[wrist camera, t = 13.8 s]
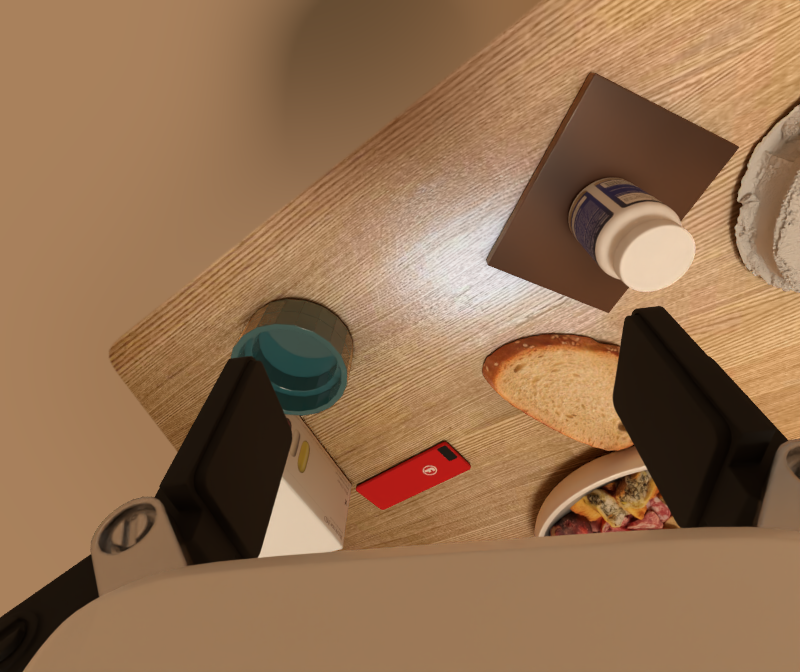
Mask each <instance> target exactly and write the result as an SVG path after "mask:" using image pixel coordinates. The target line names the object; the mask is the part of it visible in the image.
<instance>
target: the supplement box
mask: <svg viewBox="0 0 800 672" xmlns="http://www.w3.org/2000/svg"><path fill="white" fill-rule="evenodd" d="M285 416H286V418H287V421H288V423H289V425H290V428H291V430H292V443H291V447H290V451H289V454H288V458H287V461H286V465H285V468H284V472H283V475H282V479H281V482H280V486H279V489H278V493H277V496H276V500H275V503H274V507H273V510H272V514H271V517H270V521H269V524H268V528H267V532H266V535H265V539H264V542H263V546H262V549H261V552H260V555H259V557H258V558H262V557H273V556H284V555H297V554H310V553H323V552H331V551H335V550H339V549H342V548H343V540H344V533H345V526H346V520H347V512H348V505H349V499H350V492H351V486H352V485H351V484H350V482H349V481H348V480H347V478H346V477H345V476H344V474H343V473H342V472H341V470H340V469H339V468H338V466H337V465H336V464H335V463H334V461H333V460H332V459H331V457H330V456H329V455H328V453H327V452H326V451H325V449H324V448H323V447H322V445H321V444H320V443H319V441H318V440H317V439H316V437H315V436H314V435H313V433H312V432H311V431H310V429H309V428H308V427H307V426H306V424H305V423H304V422H303V420H302V419H301V418H300V416H299V415H286V414H285Z"/></svg>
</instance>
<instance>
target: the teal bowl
mask: <svg viewBox="0 0 800 672" xmlns="http://www.w3.org/2000/svg"><path fill="white" fill-rule="evenodd" d="M246 356H252V357H254V358H255V360H256V361H258V360H259V361H261V362H262V364H263V366H264V368H265V370H266V372H267V375H268V377H269V379H270V382H271V384H272V386H273V388H274V391H275V393H276V395H277V398H278V400H279V402H280V405H281V407H282V409H283V411H284V414H286V415H300V416H303V415H309V414H315V413H319V412H321V411H323V410H325V409H327V408H330V407H331V406H333V405H334V404H335V403H336V402H337V401H338V400H339V399H340V398H341V397H342V395H343V393H344V391H345V388H346V386H347V383H348V378H349V373H350V368H351V363H352V358H353V342H352V339H351V337H350V334H349V332H348V329H347V328H346V327H345V325H344V324H343V323H342V322H341V320H340V319H339V318H338V317H337V316H336V315H334V314H333V313H331V312H330V311H329V310H327V309H326V308H324V307H322V306H320V305H317V304H314V303H311V302H308V301H305V300H292V299H285V300H280V301H276V302H271V303H269V304H268V305H266V306H264V307H263V308H261V309H259V310H258V311H257V312H256V313H255V314H254V315H253V317H252V318H251V319H250V321H249V322H248V324H247V326H246V327H245V329H244V331H243V332H242V334H241V335H240V337H239V339H238V341H237V342H236V344H235V346H234V347H233V351H232V355H231V358H238V357H246Z"/></svg>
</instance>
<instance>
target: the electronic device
mask: <svg viewBox="0 0 800 672" xmlns="http://www.w3.org/2000/svg"><path fill="white" fill-rule="evenodd" d="M470 468H471V466H470V464H469V463H468V462H467V461H466V460H465V459H464V458H463V457H462V456H461V455H460V454H459V453H458V452H456V451H455V450H454V449H453V448H452V447H451V446H450V445H449V444H448V443H447V442H442V443H440V444H438V445H436V446H434V447H432V448H430V449H428V450H426V451H424V452H422V453H420V454H419V455H417V456H415V457H413V458H411V459H409V460H407V461H405V462H403V463H401V464H399V465H397V466H395V467H393V468H391V469H389V470H387V471H385V472H383V473H381V474H379V475H377V476H376V477H374V478H372V479H370V480H368V481H366V482H364V483H362V484H360V485H358V486H357V487H356V491H357V492H359V493H360V494H361V495H363V496H364V497H365V498H367V499H368V500H369V501H370V502H372V503H373V504H374V505H376V506H377V507H378V508H380V509H381V510H384V509H387V508H389V507H391V506H393V505H395V504H397V503H399V502H401V501H404V500H406V499H408V498H410V497H412V496H414V495H416V494H418V493H421V492H423V491H425V490H427V489H429V488H431V487H433V486H436V485H438V484H440V483H442V482H444V481H446V480H448V479H450V478H453V477H455V476H457V475H459V474H461V473H463V472H465V471H467V470H469V469H470Z"/></svg>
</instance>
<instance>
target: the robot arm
mask: <svg viewBox="0 0 800 672" xmlns="http://www.w3.org/2000/svg"><path fill="white" fill-rule="evenodd" d="M612 398H613V405H614V408H615V411H616V413H617V414H618V416H619V418H620V420H621V422H622V424H623V426H624V427H625V429H626V431H627V433H628V435H629V437H630V438H631V440H632V442H633V444H634V446H635V448H636V449H637V451H638V453H639V455H640V457H641V459H642V461H643V462H644V464H645V466H646V468H647V470H648V472H649V473H650V475H651V477H652V479H653V481H654V483H655V485H656V486H657V488H658V490H659V492H660V494H661V496H662V497H663V499H664V501H665V503H666V505H667V507H668V508H669V510H670V512H671V514H672V516H673V518H674V520H675V521H676V523H677V524H678V526H679V527H680V528H679V529H659V530H639V531H621V532H606V533H591V534H576V535H561V536H546V537H530V538H515V539H501V540H487V541H473V542H458V543H444V544H430V545H416V546H402V547H389V548H375V549H362V550H349V551H336V552H323V553H310V554H297V555H284V556H273V557H262V558H258V557H259V555H260V552H261V549H262V546H263V542H264V539H265V535H266V532H267V528H268V524H269V521H270V517H271V514H272V510H273V507H274V503H275V500H276V496H277V493H278V489H279V486H280V482H281V479H282V475H283V472H284V468H285V465H286V461H287V458H288V454H289V451H290V447H291V443H292V430H291V428H290V425H289V423H288V421H287V418H286V416H285V414H284V411H283V409H282V407H281V405H280V402H279V400H278V398H277V395H276V393H275V391H274V388H273V386H272V384H271V382H270V379H269V377H268V375H267V372H266V370H265V368H264V366H263V364H262V362H261V361H259V360H258V361H256V360H255V358H254V357H252V356H246V357H238V358H231V359H229V360H228V362H227V363H226V365H225V367H224V369H223V371H222V372H221V374H220V376H219V378H218V380H217V382H216V383H215V385H214V387H213V389H212V391H211V393H210V394H209V396H208V398H207V400H206V402H205V403H204V405H203V407H202V409H201V411H200V413H199V414H198V416H197V418H196V420H195V422H194V424H193V425H192V427H191V429H190V431H189V433H188V435H187V436H186V438H185V440H184V442H183V444H182V446H181V447H180V449H179V451H178V453H177V455H176V456H175V458H174V460H173V462H172V464H171V466H170V467H169V469H168V471H167V473H166V475H165V477H164V479H163V480H162V482H161V484H160V488H159V490H158V492H157V494H156V496H155V497H141V498H137V499H133V500H131V501H129V502H127V503H125V504H123V505H121V506H120V507H119V508H117V509H116V510H114V511H113V512H112V513H111V514H110V515H108V516H107V517H106V518H105V520H104V521H102V523H101V524H100V526H99V527H98V528H97V530H96V531H95V533H94V536H93V538H92V541H91V555H89V556H88V557H86V558H85V559H83V560H82V561H81V562H79V563H78V564H77V565H75V566H73V567H72V568H70V569H69V570H68V571H66V572H65V573H64V574H62V575H60V576H59V577H58V578H56V579H55V580H54V581H52V582H51V583H49V584H48V585H46V586H45V587H43V588H42V589H40V590H39V591H38V592H36V593H35V594H33V595H32V596H30V597H29V598H28V599H26V600H25V601H23V602H22V603H20V604H19V605H17V606H16V607H15V608H13V609H12V610H10V611H9V612H7V613H6V614H4V615H3V616H2V617H1V618H0V672H800V439H794V440H789V441H788V440H787V438H786V437H785V436H784V435H783V434H782V433H781V432H780V431H779V430H778V429H777V428H776V427H775V426H774V424H773V423H772V422H771V421H770V420H769V419H768V418H767V417H766V416H765V415H764V414H763V413H762V411H761V410H760V409H759V408H758V407H757V406H756V405H755V404H754V403H753V402H752V401H751V400H750V398H749V397H748V396H747V395H746V394H745V393H744V392H743V391H742V390H741V389H740V388H739V387H738V385H737V384H736V383H735V382H734V381H733V380H732V379H731V378H730V377H729V376H728V375H727V374H726V372H725V371H724V370H723V369H722V368H721V367H720V366H719V365H718V364H717V363H716V362H715V361H714V360H713V359H712V358H711V357H709V356H707V354H706V353H705V352H704V351H703V350H702V349H701V348H700V347H699V346H698V345H697V344H696V342H695V341H694V340H693V339H692V338H691V337H690V336H689V335H688V334H687V333H686V332H685V330H684V329H683V328H682V327H681V326H680V325H679V324H678V323H677V322H676V321H675V320H674V318H673V317H672V316H671V315H670V314H669V313H668V312H667V311H666V310H665V309H664V308H663V307H661V306H656V307H648V308H639V309H635V310H634V311H633V312H632V315H631V316H627V317H626V318H625V321H624V327H623V333H622V339H621V346H620V352H619V358H618V364H617V371H616V377H615V383H614V390H613V397H612Z"/></svg>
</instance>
